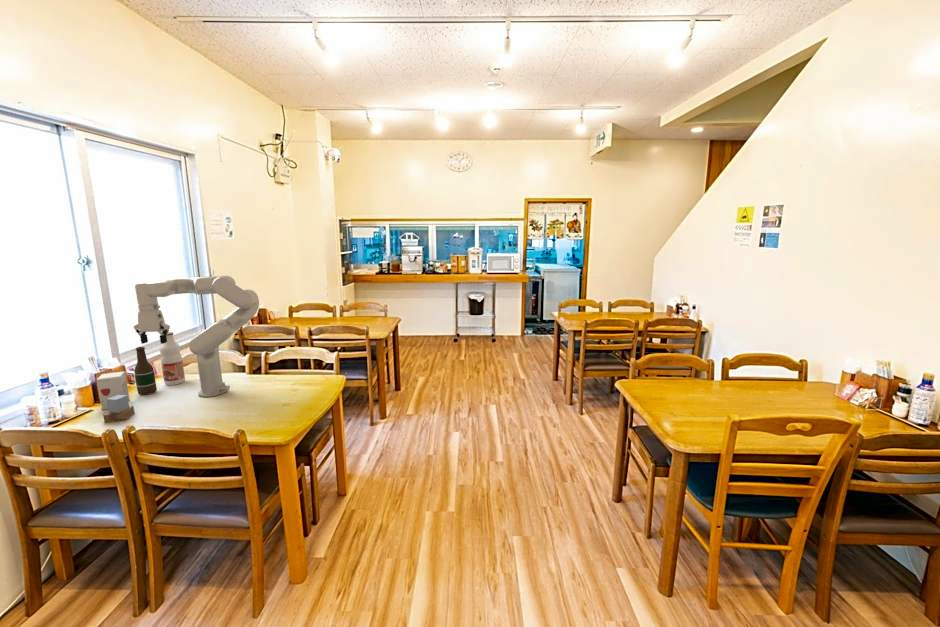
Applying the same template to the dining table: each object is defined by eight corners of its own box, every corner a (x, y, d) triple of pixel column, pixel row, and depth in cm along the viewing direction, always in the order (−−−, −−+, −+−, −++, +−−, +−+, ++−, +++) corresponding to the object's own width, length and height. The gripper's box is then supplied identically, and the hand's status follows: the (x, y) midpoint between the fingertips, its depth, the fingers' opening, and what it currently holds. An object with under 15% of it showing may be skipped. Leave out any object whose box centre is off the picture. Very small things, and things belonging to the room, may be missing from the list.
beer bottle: (160, 389, 218) (153, 345, 214) (148, 395, 210) (140, 349, 206) (147, 389, 219) (139, 345, 214) (134, 395, 211) (126, 349, 207)
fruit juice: (188, 381, 230) (180, 332, 225) (167, 386, 223) (159, 335, 218) (182, 378, 236) (174, 330, 231) (162, 383, 228) (154, 333, 223)
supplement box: (101, 410, 193) (95, 379, 190) (106, 403, 201) (101, 373, 198) (125, 406, 197) (120, 376, 194) (130, 400, 205) (125, 370, 202)
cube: (129, 408, 185) (127, 395, 184) (118, 412, 181) (116, 399, 180) (120, 407, 186) (118, 394, 185) (108, 412, 182) (106, 399, 180)
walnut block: (134, 413, 189) (133, 405, 188) (127, 421, 182) (125, 412, 181) (113, 416, 187) (111, 408, 186) (104, 424, 179) (103, 415, 178)
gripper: (172, 306, 201) (177, 341, 204) (138, 306, 202) (143, 341, 205) (159, 309, 193) (165, 344, 196) (124, 309, 194) (130, 345, 198)
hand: (154, 342), depth 201 cm, fingers open, 9 cm apart
